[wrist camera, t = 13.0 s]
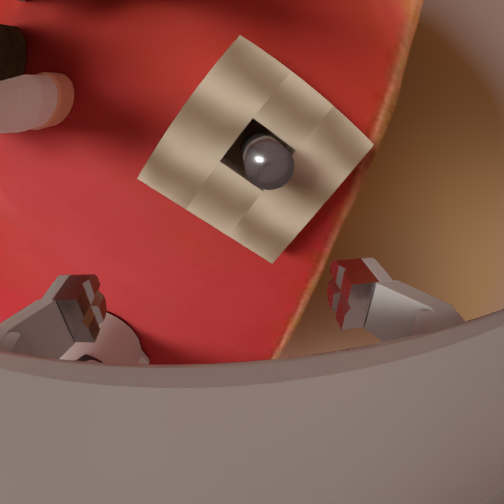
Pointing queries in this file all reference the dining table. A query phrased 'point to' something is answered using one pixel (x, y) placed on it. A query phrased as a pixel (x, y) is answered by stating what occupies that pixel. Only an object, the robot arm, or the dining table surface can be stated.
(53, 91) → the pepper shaker
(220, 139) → the socket block
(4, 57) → the wooden container
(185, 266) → the dining table surface
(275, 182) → the pin
